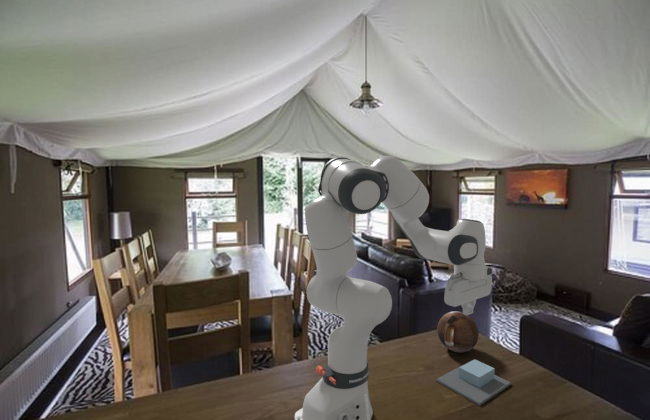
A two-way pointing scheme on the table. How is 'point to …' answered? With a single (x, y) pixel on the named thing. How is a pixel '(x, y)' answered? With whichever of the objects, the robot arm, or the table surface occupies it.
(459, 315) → the wooden sphere
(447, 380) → the mat
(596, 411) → the table surface
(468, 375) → the block
